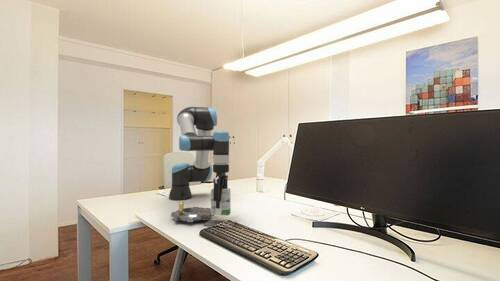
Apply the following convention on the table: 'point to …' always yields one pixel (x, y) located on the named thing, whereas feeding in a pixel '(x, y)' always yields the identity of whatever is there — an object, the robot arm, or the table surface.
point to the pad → (214, 222)
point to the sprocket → (191, 213)
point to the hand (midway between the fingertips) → (220, 213)
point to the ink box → (225, 201)
